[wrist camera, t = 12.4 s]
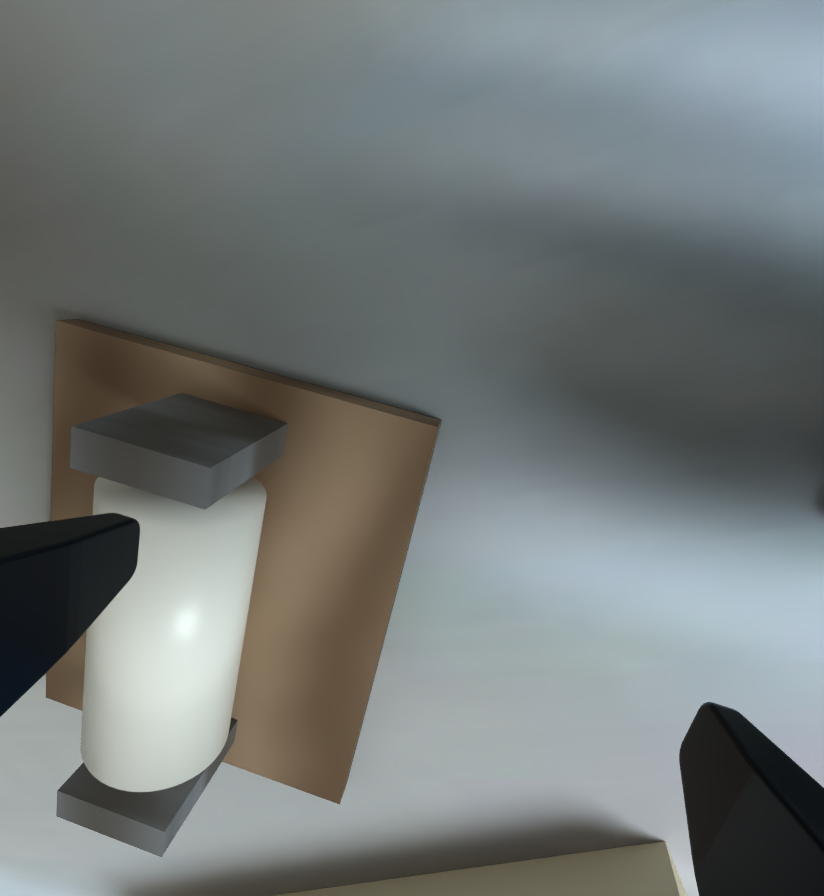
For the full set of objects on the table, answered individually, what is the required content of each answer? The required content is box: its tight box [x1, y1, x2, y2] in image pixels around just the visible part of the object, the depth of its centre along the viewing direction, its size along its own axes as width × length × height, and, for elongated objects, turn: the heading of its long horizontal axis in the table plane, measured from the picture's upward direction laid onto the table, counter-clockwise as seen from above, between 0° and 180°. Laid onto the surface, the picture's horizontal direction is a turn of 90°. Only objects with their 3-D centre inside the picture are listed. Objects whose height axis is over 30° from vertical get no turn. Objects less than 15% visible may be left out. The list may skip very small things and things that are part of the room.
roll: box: [81, 477, 267, 792], centre depth 19 cm, size 5×10×5 cm, turn 167°
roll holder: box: [46, 319, 442, 857], centre depth 19 cm, size 14×17×6 cm
